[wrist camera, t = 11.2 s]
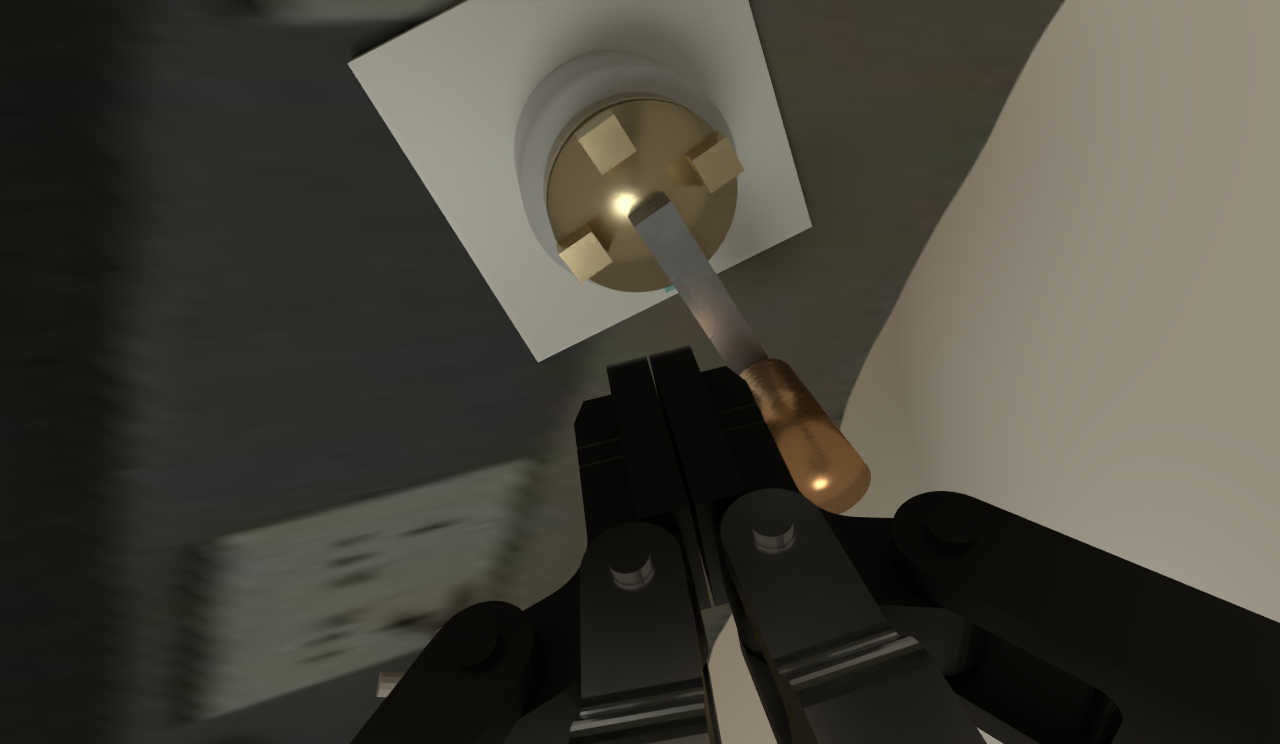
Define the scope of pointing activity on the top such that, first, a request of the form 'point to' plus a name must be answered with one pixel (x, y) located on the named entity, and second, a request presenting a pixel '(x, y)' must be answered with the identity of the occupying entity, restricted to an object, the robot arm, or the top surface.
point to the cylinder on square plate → (543, 106)
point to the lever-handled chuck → (683, 257)
